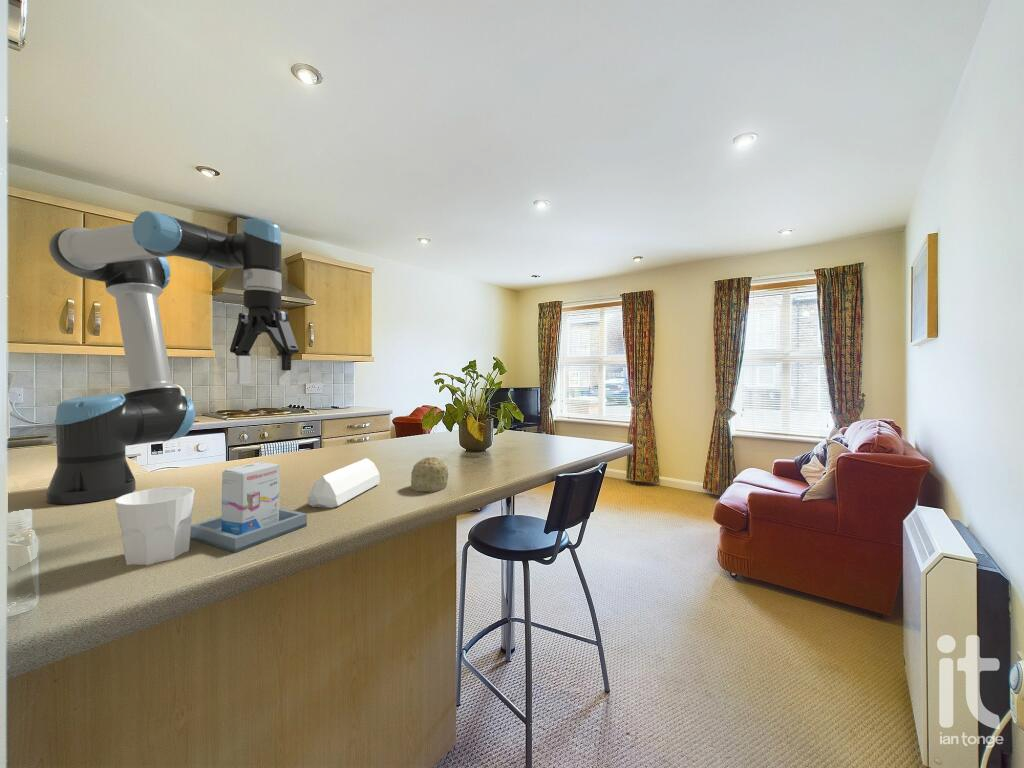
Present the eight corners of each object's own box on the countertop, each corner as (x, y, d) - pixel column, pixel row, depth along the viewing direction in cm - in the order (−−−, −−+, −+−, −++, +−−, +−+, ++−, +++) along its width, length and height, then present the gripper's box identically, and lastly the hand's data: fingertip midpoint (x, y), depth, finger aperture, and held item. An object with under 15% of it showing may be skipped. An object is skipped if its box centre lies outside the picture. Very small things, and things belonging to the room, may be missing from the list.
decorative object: (432, 507, 110) (455, 473, 110) (399, 484, 109) (422, 451, 110) (437, 499, 119) (458, 468, 120) (406, 478, 119) (427, 447, 119)
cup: (98, 568, 67) (96, 504, 67) (151, 541, 77) (151, 486, 77) (163, 569, 67) (162, 505, 67) (208, 542, 77) (208, 487, 77)
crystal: (340, 494, 94) (390, 469, 118) (314, 476, 95) (368, 454, 119) (324, 522, 95) (377, 492, 119) (298, 504, 96) (355, 477, 120)
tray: (189, 538, 79) (189, 525, 79) (262, 515, 91) (262, 504, 91) (235, 552, 73) (235, 538, 73) (306, 525, 86) (306, 513, 86)
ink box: (242, 539, 77) (241, 472, 77) (220, 535, 79) (219, 470, 78) (280, 522, 86) (280, 462, 85) (260, 519, 87) (259, 460, 87)
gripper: (211, 291, 102) (212, 383, 103) (285, 284, 91) (286, 386, 92) (243, 296, 109) (244, 382, 109) (315, 290, 98) (315, 385, 99)
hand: (263, 384), depth 101 cm, fingers open, 13 cm apart
